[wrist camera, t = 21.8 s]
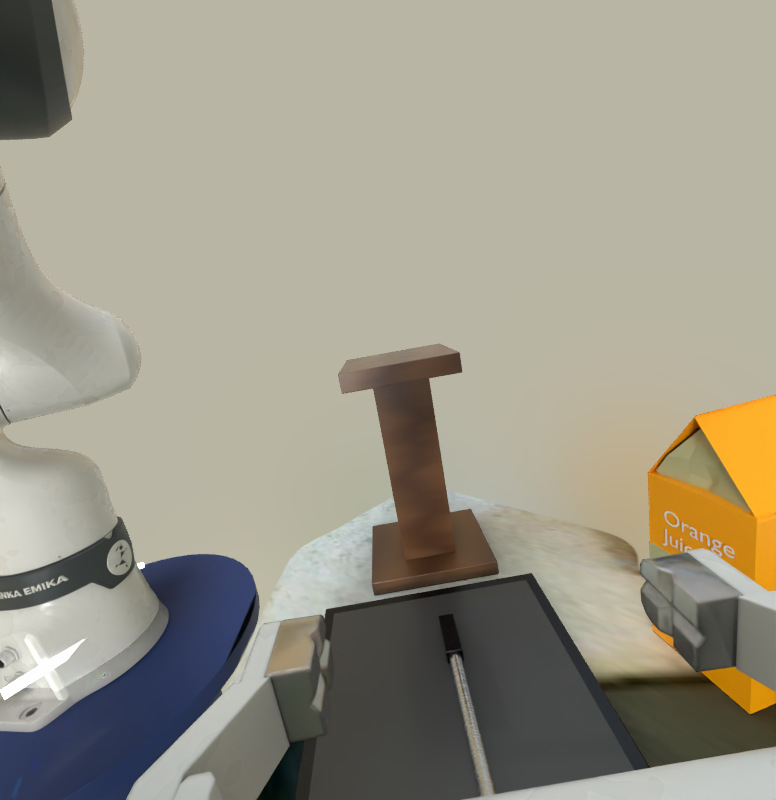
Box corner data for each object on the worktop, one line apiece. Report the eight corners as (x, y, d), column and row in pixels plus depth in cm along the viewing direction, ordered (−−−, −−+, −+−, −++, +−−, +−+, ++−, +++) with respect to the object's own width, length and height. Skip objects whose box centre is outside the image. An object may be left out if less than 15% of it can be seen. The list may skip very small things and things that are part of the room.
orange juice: (852, 672, 27) (881, 397, 23) (751, 716, 26) (761, 431, 21) (733, 598, 35) (738, 380, 30) (649, 628, 33) (642, 404, 29)
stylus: (490, 865, 20) (487, 849, 20) (439, 626, 36) (437, 615, 36) (516, 860, 20) (514, 844, 20) (454, 623, 36) (452, 612, 36)
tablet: (285, 890, 22) (280, 876, 21) (327, 616, 41) (325, 608, 41) (676, 822, 21) (676, 808, 21) (532, 580, 41) (531, 571, 41)
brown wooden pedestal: (374, 595, 43) (327, 375, 38) (374, 535, 55) (338, 361, 49) (498, 573, 43) (469, 350, 38) (472, 518, 55) (447, 342, 49)
